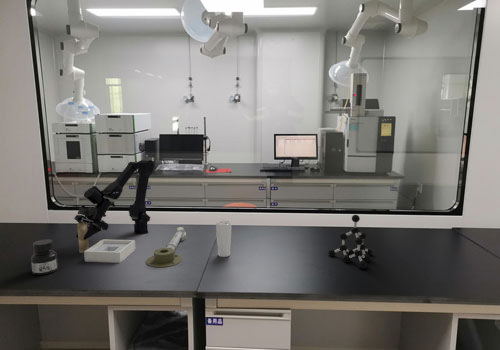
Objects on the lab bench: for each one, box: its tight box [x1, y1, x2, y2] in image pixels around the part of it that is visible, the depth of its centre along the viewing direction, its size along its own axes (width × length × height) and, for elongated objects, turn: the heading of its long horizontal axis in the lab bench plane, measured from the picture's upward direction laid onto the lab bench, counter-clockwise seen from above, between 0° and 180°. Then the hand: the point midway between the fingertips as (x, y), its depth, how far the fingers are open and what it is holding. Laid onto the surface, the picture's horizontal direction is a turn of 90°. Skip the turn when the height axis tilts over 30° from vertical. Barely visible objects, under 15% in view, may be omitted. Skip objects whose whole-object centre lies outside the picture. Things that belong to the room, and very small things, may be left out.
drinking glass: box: [215, 220, 232, 258], centre depth 154 cm, size 7×7×15 cm
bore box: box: [83, 239, 136, 264], centre depth 155 cm, size 16×16×4 cm
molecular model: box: [327, 214, 373, 270], centre depth 150 cm, size 18×20×20 cm
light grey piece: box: [165, 226, 187, 253], centre depth 167 cm, size 5×7×25 cm
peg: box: [76, 223, 90, 254], centre depth 159 cm, size 4×4×13 cm
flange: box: [145, 247, 183, 269], centre depth 149 cm, size 5×15×15 cm
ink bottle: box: [30, 238, 59, 276], centre depth 138 cm, size 10×9×12 cm
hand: (80, 238), depth 158 cm, fingers open, 5 cm apart
